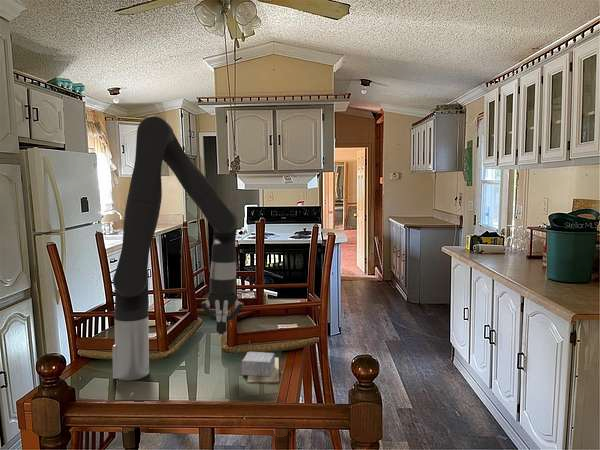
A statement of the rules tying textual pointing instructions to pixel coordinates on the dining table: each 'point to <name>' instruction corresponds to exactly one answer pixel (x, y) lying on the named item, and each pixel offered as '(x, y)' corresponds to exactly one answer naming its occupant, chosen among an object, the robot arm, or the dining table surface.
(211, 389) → the dining table surface
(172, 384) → the dining table surface
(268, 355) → the medicine box
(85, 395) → the dining table surface
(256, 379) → the board
